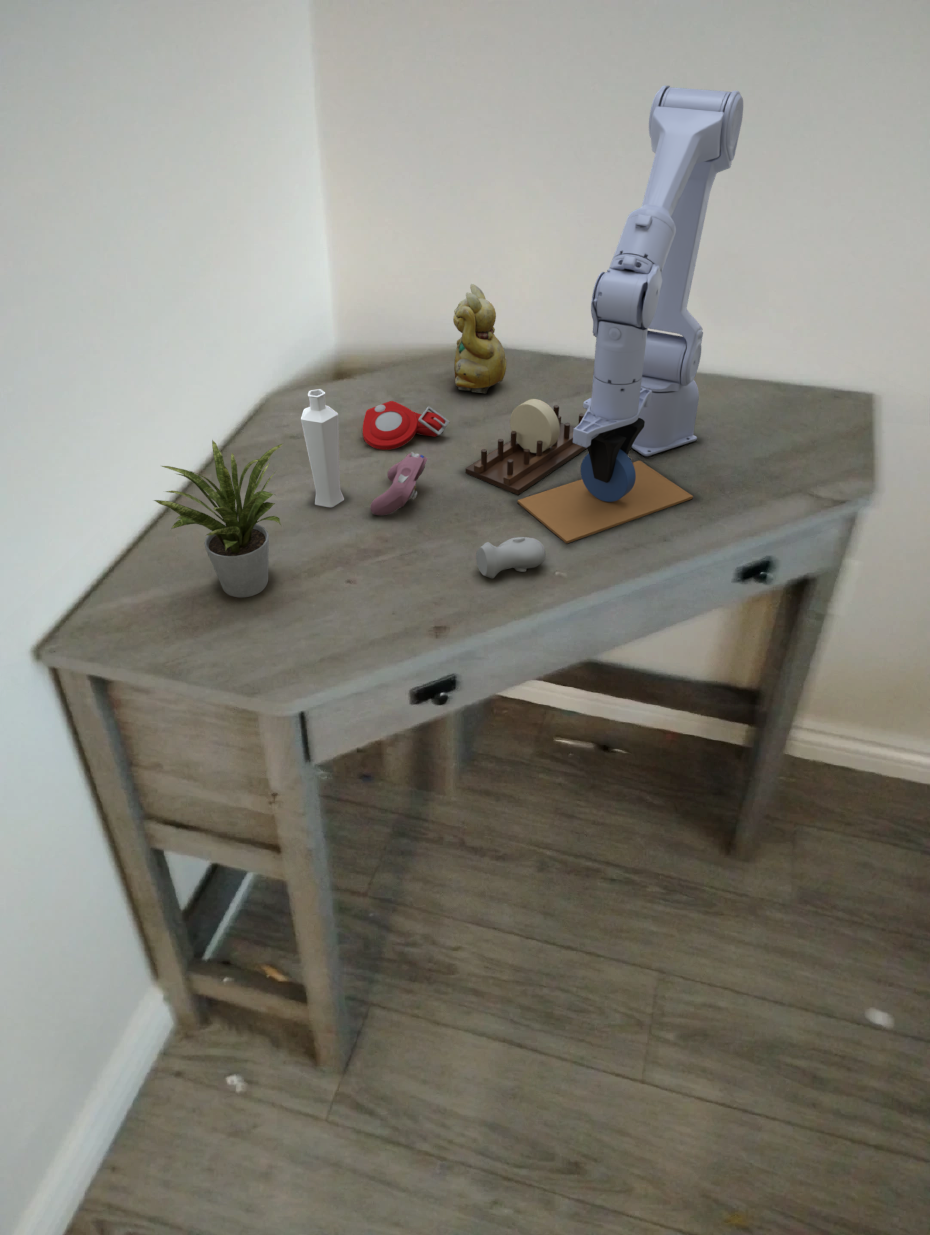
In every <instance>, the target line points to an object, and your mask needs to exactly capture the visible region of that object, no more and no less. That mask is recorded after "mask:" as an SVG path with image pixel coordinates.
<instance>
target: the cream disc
mask: <svg viewBox="0 0 930 1235" xmlns="http://www.w3.org/2000/svg"><path fill="white" fill-rule="evenodd" d="M509 427H510V432H512V431H516V432H517V438H516V441H517V443H518V444H519V445H520V446H521V447H522V448H524V449H529V450H530V452H532V453H536V448H537V441H542V442H543V446H542V452H543V451H545V450H546V449H548V448H549V447H551V446H552V445H554V444H555V443H556V441H557V440H558V437H559V434H560V425H559V421H558V418H557V416H556V414H555V412H554V411H553V408H552V407H551V405H549V404H548V403H546V402H545V401H543V400H540V399H537V398H530V399H527V400H525V401H523V402H522V403H521V404H519V405H517V406H516V407H514V409H513V410H512V412H511V414H510V419H509Z"/></svg>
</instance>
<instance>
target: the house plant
mask: <svg viewBox="0 0 930 1235" xmlns="http://www.w3.org/2000/svg"><path fill="white" fill-rule="evenodd" d="M284 443H285V442H283V443H280V444H278V445H275V446H274V447H272V448H270V449H269V450H267V451H266V452H265V453H264V454H262V456H260V458H257V459H253V460H251V461H250V462H248V463H247V464H246V465H245V466H244V468H243V470H242V471H241V474H240V479H239V476H238V475H239V474H238V464H237V461H236V458H235V455H234V453H233V452H231V455H230V468H231V469H230V470H231V474H230V471H229V469H228V468H227V467H226V466H225V461H224V456H223V454H222V453H221V451H220V448H219V447H218V445H217V443H216V442H215V441H214V440H213V439H212V441H211V447H212V453H213V460H214V466H215V474H216V479H217V481H218V483H219V488H218V486H217V485H216V484H215V483H213V481H212V480H211V479H209V478H208V477H206V476H203V475H202V474H200V473H197V472H195V471H192V470H189V469H184V468H180V467H179V468H178V467H176V466H170V465H161V467H162V468H164V469H167V470H171V471H173V472H177V475H179V476H181V477H184V478H186V479H188V480H189V481H190V482H192V483H193V484H194V485H195V486H196V487H197V488H198V489H199V490H200V491H201V493H202V494H203V495H204V496H205V497H206V499H207V500H208V501H209V502H210V504H211V505H212V506H213V508H211V507H209V505H207V504H206V503H205V502H203V501H202V500H200V499H199V498H197V497H195V496H193V495H191V494H189V493H187V492H183V491H178V490H167V491H163V492H164V493H170V494H177V495H181V496H184V497H187V498H189V499H191V500H193V501H194V502H196V503H197V504H199V505H201V506H203V507H204V508H206V509H207V510H208V511H210V512H211V513H212V514H214V516H216V517H217V518H218V519H219V520H221V521H219V520H218V519H215V517H212V516H210V515H209V514H207V513H205V512H202V511H199V510H196V509H194V508H191V507H189V506H185V505H182V504H180V503H176V502H173V501H169V500H162V499H161V500H159V499H154V500H152V501H153V502H155V503H158V504H159V505H161V506H164V507H166V508H169V509H170V510H172V511H173V512H174V513H177V514H178V515H179V516H177V517H176V518H175V520H177V519H178V520H177V521H176V522H174V523H173V525H172V527H171V528H170V530H172V529H177V528H181V527H183V526H184V527H185V526H188V525H198V526H203V527H205V528H206V529H208V530H209V531H211V532H209V533H207V534H206V536H205V540H204V544H203V545H204V548H205V551H206V553H207V555H208V558H209V560H210V562H211V564H212V565H211V566H212V567H213V569H214V571H215V573H216V577H217V578H218V581H219V583H220V586H221V588H222V590H223V591H224V592H225V594H227V595H228V596H230V597H234V598H248V597H253V596H255V595H258V594H260V593H261V592H262V591H264V590H265V588H266V587H267V585H268V583H269V559H270V558H269V552H270V549H269V548H270V535H269V531H268V530H267V529H266V528H265V527H264V526H263V525H260V524H259V522H262V521H271V522H276V523H278V524H279V525H280V526H282V524H281V519H280V517H278V516H276V515H270V516H265V517H263V518H261V517H262V516H263V515H265V514H266V513H267V512H268V511H269V510H270V509H272V508H273V506H274V505H276V503H275V502H271V501H267V500H269V499H270V498H271V497H272V496H276V494H275V493H272V492H269V491H265V488H266V487H267V485H268V483H269V482H270V481H271V479H272V478H273V476H274V475H275V474H276V472H277V470H278V469H277V470H276V471H274V472H273V473H272V474H271V476H270V477H269V478H268V479H267V480H266V482H265V483H264V484H263V487H262V488H261V489H260V490H258V491H256V490H257V488H258V486H259V485H260V483H261V482H262V479H263V477H264V476H265V473H266V471H267V469H268V467H269V465H270V464H271V461H270V462H268V461H269V460H270V457H272V455H273V454H274V452H276V451H277V450H278V449H280V448H281V447H282V446H283V445H284ZM267 463H268V464H267ZM253 464H254V467H253V468H252V470H251V473H250V475H249V478H248V479H249V480H248V484H247V488H246V491H245V495H244V499H243V502H242V498H241V492H242V485H243V481H244V478H245V476H246V474H247V472H248V470H249V469H250V467H251V466H252V465H253ZM266 464H267V465H266ZM204 479H205V480H204ZM207 482H208V483H207ZM216 512H217V513H218V514H217V513H216ZM260 518H261V519H260ZM222 522H223V523H224V524H223V523H222Z"/></svg>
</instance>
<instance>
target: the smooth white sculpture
mask: <svg viewBox="0 0 930 1235" xmlns="http://www.w3.org/2000/svg"><path fill="white" fill-rule="evenodd" d="M545 558H546V549H545V546H544V545H543V543H542V542H541V541H540V540H539V539H536V538H534V537H528V536H527V537H526V536H516V537H512V538H509V539H507V540H505V541H503V542H502V543H500V544H499V545H498V546H495V545H493V544H492V543H490V542H489V541H486V542H485V543H483V544H482V545H481V546H480V547H479V548H478V549H477V551H476V554H475V561H476V566H477V568H478V570H479V572H480V573H481V574H482V575H483V576H484V577H487V578H489V579H494V578H495V577H496V576H497V575H498V574H499V573H500V572H501V571H505V570H508V569H515V571H517V572H522V573H525V572H527V569H533V568H536V567H539V566H540V565H541V564H542V563H543V562H544V560H545Z"/></svg>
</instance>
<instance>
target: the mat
mask: <svg viewBox="0 0 930 1235" xmlns="http://www.w3.org/2000/svg"><path fill="white" fill-rule="evenodd" d="M632 463H633V465H634V468H635V474H636V479H635V484H634V486H633V488H632V489H631V491H630V492H628V493H627V494H626V495H625V496H623V497H622V498H621V499H619V500H617V501H614V502H606V501H602V500H600V499H598V498H596V497H595V496H593V495H592V494H591V493H590V492H589V491H588V489H587V488H586V486H585V485H584V483H583V480H582V478H581V479H578V480H575V481H572V482H569V483H566V484H562V485H559V486H557V487H553V488H549V489H547V490H544V491H542V492H538V493H535V494H532V495H529V496H526V497H522V498H520V499H517V504H518V505H519V506H521V507H522V508H523V509H524V510H526V511H527V512H528V513H529V514H530V515H531V516H533V517H534V518H535V519H536V520H538V521H539V522H540V523H541V524H542V525H543V526H545V527H546V528H547V529H548V530H550V532H552V533H553V534H554V535H556V537H558V538H559V539H560V540H561V541H562V542H564V543H565V544H569V543H572V542H575V541H578V540H580V539H584V538H587V537H589V536H592V535H594V534H598V533H600V532H601V533H602V532H603V531H606V530H609V529H611V528H615V527H618V526H620V525H623V524H626V523H629V522H632V521H634V520H637V519H639V518H643V517H645V516H648V515H652V514H653V513H656V512H659V511H662V510H665V509H668V508H670V507H673V506H677V505H678V504H679V505H680V504H682V503H684V502H687V501H690V500H692V499H693V498H694V495H692V494H691V493H689V492H687V491H686V490H685V489H684V488H681V487H680V486H678V485H677V484H676V483H674V482H673V481H671V480H670V479H668V478H667V477H666V476H664V475H663V474H661V473H659V472H658V471H656V470H655V469H653V468H652V467H650V466H649V465H647V463H644V462H643V461H642V460H636V461H632Z"/></svg>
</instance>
